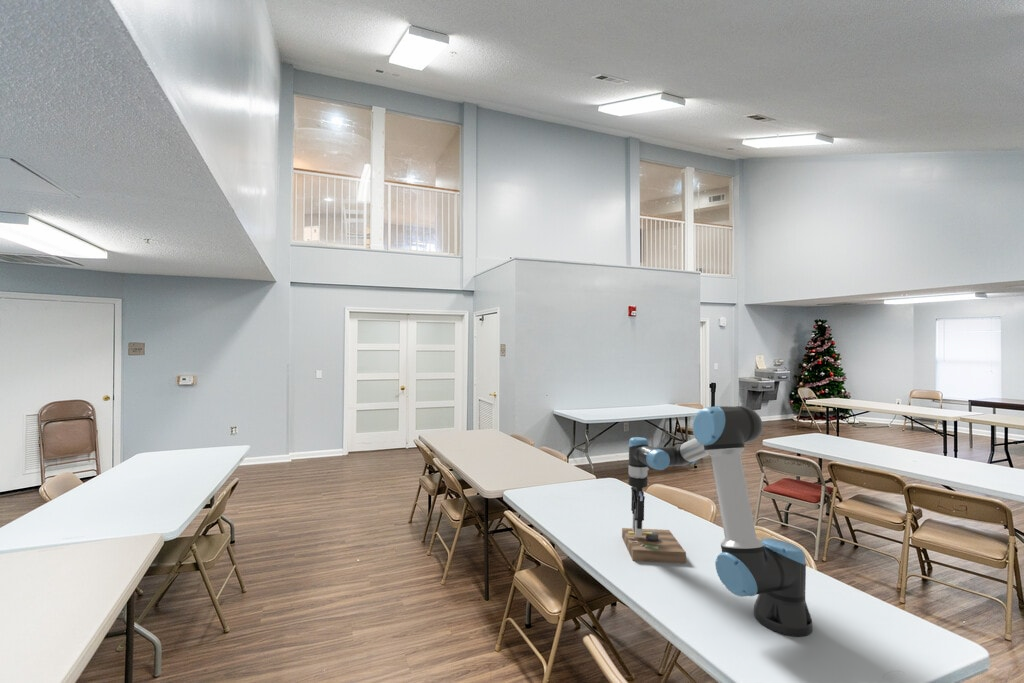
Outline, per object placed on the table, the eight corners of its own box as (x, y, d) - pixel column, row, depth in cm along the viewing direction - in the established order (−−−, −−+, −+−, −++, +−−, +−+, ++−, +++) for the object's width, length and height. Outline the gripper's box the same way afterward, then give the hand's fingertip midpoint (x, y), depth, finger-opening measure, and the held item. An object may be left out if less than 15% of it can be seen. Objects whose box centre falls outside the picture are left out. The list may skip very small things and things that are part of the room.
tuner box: (685, 562, 174) (685, 551, 174) (632, 560, 175) (632, 549, 175) (669, 539, 196) (669, 529, 196) (621, 537, 197) (622, 527, 197)
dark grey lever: (659, 541, 183) (660, 513, 183) (629, 540, 183) (630, 511, 184) (656, 536, 188) (657, 508, 188) (627, 535, 188) (627, 507, 189)
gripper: (652, 482, 177) (651, 542, 177) (642, 470, 195) (641, 525, 194) (633, 481, 178) (632, 541, 177) (624, 470, 195) (623, 524, 195)
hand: (637, 533), depth 186 cm, fingers open, 4 cm apart
